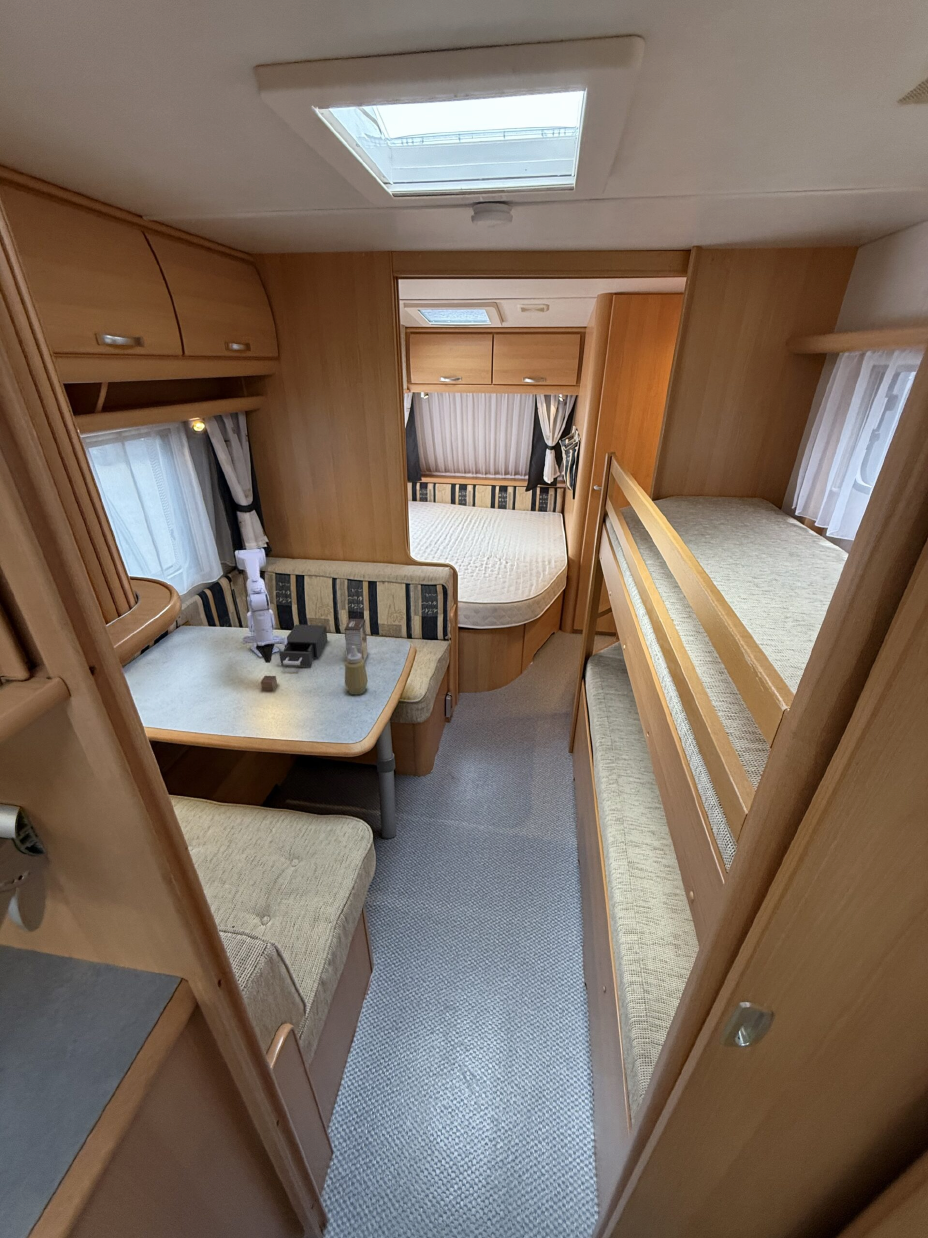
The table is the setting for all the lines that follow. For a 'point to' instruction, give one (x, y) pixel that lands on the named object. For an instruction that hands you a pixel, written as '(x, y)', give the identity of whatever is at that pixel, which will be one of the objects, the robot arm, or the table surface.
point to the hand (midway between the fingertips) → (268, 661)
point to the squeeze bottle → (355, 673)
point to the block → (269, 683)
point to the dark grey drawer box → (309, 637)
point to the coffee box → (356, 637)
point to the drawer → (297, 654)
